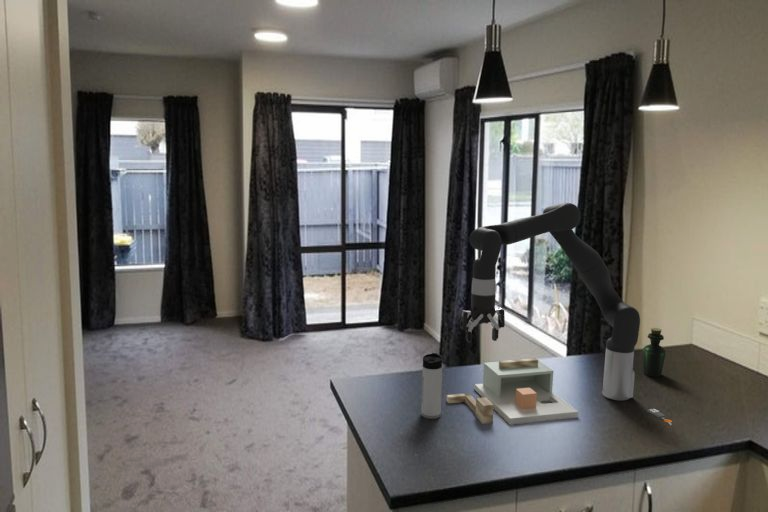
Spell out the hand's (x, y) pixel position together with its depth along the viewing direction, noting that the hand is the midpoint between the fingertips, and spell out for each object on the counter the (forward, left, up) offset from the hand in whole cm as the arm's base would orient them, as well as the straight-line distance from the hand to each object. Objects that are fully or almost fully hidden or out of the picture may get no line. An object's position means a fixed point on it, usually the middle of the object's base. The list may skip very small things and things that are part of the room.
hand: (481, 341), depth 195 cm
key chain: (-57, +16, -26) cm, 65 cm away
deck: (-19, -5, -25) cm, 31 cm away
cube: (-16, +1, -23) cm, 28 cm away
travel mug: (+15, -3, -25) cm, 29 cm away
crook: (+2, -3, -25) cm, 25 cm away
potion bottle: (-81, -20, -25) cm, 87 cm away
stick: (-20, -13, -15) cm, 28 cm away
